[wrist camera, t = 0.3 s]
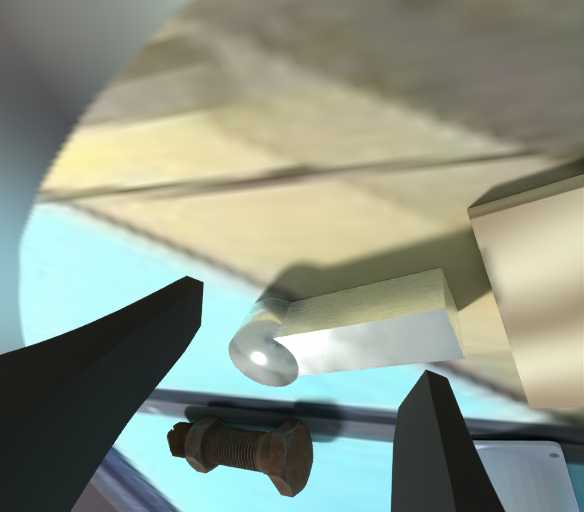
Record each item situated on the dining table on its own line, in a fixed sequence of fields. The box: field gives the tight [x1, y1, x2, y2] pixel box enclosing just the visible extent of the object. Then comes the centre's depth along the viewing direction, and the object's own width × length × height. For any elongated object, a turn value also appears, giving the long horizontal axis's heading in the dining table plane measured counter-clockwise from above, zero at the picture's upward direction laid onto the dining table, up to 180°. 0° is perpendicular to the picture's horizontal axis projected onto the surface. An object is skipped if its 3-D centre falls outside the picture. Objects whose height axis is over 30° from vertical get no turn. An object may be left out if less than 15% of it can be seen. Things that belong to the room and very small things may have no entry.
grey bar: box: [229, 267, 465, 387], centre depth 21 cm, size 5×14×4 cm, turn 120°
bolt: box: [167, 416, 313, 497], centre depth 32 cm, size 6×5×15 cm
